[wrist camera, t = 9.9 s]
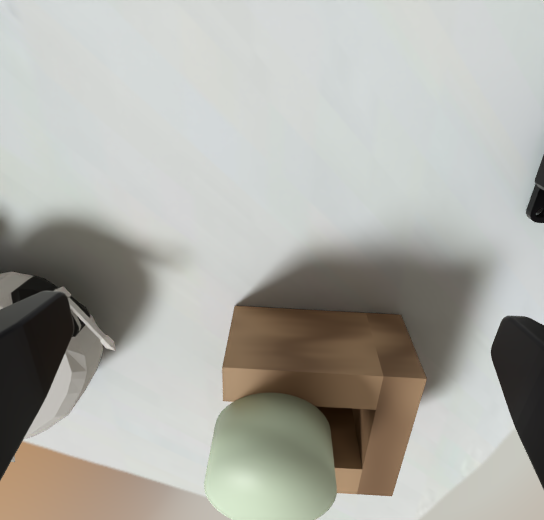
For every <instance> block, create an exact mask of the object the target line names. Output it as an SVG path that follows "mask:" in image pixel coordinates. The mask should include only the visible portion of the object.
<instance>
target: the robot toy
mask: <svg viewBox="0 0 544 520" xmlns="http://www.w3.org/2000/svg"><path fill="white" fill-rule="evenodd" d="M42 291H61V292H64V293H65V294H66V295H67V297H68V301H69V305H70V309H71V313H72V318H73V322H74V332H73V336H72V338H71V341H70V343H69V345H68V348H67V350H66V352H65V355H64V357H63V360H62V362H61V364H60V367H59V369H58V371H57V374H56V376H55V378H54V381H53V383H52V386H51V388H50V390H49V392H48V394H47V397H46V399H45V401H44V403H43V404H42V406H41V408H40V410H39V412H38V414H37V416H36V417H35V419H34V421H33V423H32V425H31V426H30V428H29V430H28V432H27V433H26V435H25V437H24V439H26V438H30V437H33V436H35V435H37V434H39V433H42V432H44V431H46V430H47V429H49V428H50V427H52V426H53V425H54V424H56V423H57V422H59V421H60V420H62V419H63V418H64V417H66V416H67V415H68V414H69V413H70V411H71V410H72V409H73V407H74V406H75V404H76V403H77V401H78V400H79V398H80V397H81V396H82V394H83V393H84V391H85V390H86V388H87V386H88V384H89V383H90V381H91V379H92V377H93V376H94V374H95V372H96V370H97V368H98V365H99V363H100V360H101V357H102V352H103V345H104V346H105V347H106V348H107V349H111V350H115V351H116V348H115V342H114V341H113V340H112V339H111V338H110V337H109V336H108V335H107V336H106V335H105V334H104V333H103V332H102V331H101V330H100V329H99V328H98V326H97V324H96V322H95V320H94V318H93V316H92V315H91V314H90V313H89V312H88V310H87V308H86V307H84V306H83V305H82V304H80V303H79V302H78V301H76V300H75V299H74V298H72V297H71V294H70V293H69V292H68V291H67V290H66V289H65V288H64V287H60V288H58V287H56V286H55V285H54V284H52V283H50V282H49V281H47V280H46V279H44V278H41V277H37V276H32V275H26V274H21V273H16V272H7V273H1V274H0V309H2V308H5V307H7V306H9V305H11V304H14V303H16V302H18V301H21V300H23V299H25V298H28V297H30V296H32V295H35V294H37V293H39V292H42ZM11 461H12V462H15V457H13V459H12V460H11Z"/></svg>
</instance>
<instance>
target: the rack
mask: <svg viewBox="0 0 544 520" xmlns="http://www.w3.org/2000/svg"><path fill="white" fill-rule="evenodd" d="M222 374H223V401H231V402H234V401H236V400H238V399H240V398H243V397H246V396H249V395H253V394H258V393H282V394H288V395H292V396H295V397H298V398H301V399H303V400H306V401H307V402H309V403H311V404H312V405H314V406H315V407H317V408H318V409H319V410H320V411H321V412H322V413H323V414H324V416H325V417H326V419H327V421H328V422H329V425H330V430H331V438H332V448H333V458H334V467H335V477H336V486H337V493H347V494H364V495H381V496H392V495H393V491H394V488H395V485H396V481H397V478H398V475H399V471H400V468H401V464H402V461H403V458H404V454H405V451H406V448H407V444H408V441H409V437H410V434H411V431H412V427H413V424H414V421H415V417H416V414H417V410H418V407H419V404H420V400H421V397H422V394H423V390H424V387H425V383H426V380H427V378H426V375H425V373H424V370H423V368H422V365H421V363H420V361H419V358H418V356H417V353H416V351H415V348H414V346H413V343H412V341H411V338H410V336H409V333H408V331H407V328H406V326H405V323H404V321H403V318H402V316H401V315H396V314H378V313H359V312H341V311H322V310H304V309H285V308H267V307H248V306H235V307H234V312H233V317H232V322H231V327H230V332H229V337H228V342H227V347H226V352H225V357H224V362H223V367H222Z"/></svg>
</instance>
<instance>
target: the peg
mask: <svg viewBox="0 0 544 520" xmlns="http://www.w3.org/2000/svg"><path fill="white" fill-rule="evenodd" d="M204 489H205V493H206V496H207V498H208V500H209V501H210V503H211V504H212V505H213V506H214V507H215V508H216V509H217V510H218V511H219V512H221V513H222V514H223V515H225V516H226V517H228V518H230V519H232V520H315V519H317V518H319V517H320V516H322V515H323V514H324V513H325V512H327V511H328V510H329V508H330V507H331V506H332V504H333V503H334V501H335V498H336V494H337V486H336V477H335V467H334V458H333V448H332V438H331V430H330V425H329V422H328V421H327V419H326V417H325V416H324V414H323V413H322V412H321V411H320V410H319V409H318V408H317V407H315V406H314V405H312V404H311V403H309V402H307V401H306V400H303V399H301V398H298V397H295V396H292V395H288V394H282V393H258V394H253V395H249V396H246V397H243V398H240V399H238V400H236V401H234V402H232V403H231V404H230V405H228V406H227V407H226V408H225V409H224V410H223V411H222V412H221V413H220V415H219V416H218V418H217V421H216V424H215V429H214V434H213V439H212V444H211V450H210V455H209V460H208V465H207V471H206V476H205V481H204Z"/></svg>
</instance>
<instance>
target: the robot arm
mask: <svg viewBox="0 0 544 520" xmlns="http://www.w3.org/2000/svg"><path fill="white" fill-rule="evenodd" d="M535 183H536V184H535V187H534V190H533V193H532V196H531V198H530V201H529V204H528V207H527V210H526V214H527V217H529V218H530V219H531V220H532V221H534V222H537V223H544V156H543V158H542V161H541V164H540V167H539V170H538V172H537V175H536V178H535ZM540 208H542V211H541V213H539V214H537V215H536V212H537V210H539V209H540ZM73 332H74V322H73V318H72V313H71V309H70V305H69V301H68V297H67V295H66V294H65V293H64V292H61V291H42V292H39V293H37V294H35V295H32V296H30V297H28V298H25V299H23V300H21V301H18V302H16V303H14V304H11V305H9V306H7V307H5V308H2V309H0V480H1V478H2V476H3V475H4V473H5V471H6V469H7V467H8V466H9V464H10V462H11V460H12V459H13V457H14V455H15V453H16V451H17V449H18V448H19V446H20V444H21V442H22V441H23V439H24V437H25V435H26V433H27V432H28V430H29V428H30V426H31V425H32V423H33V421H34V419H35V417H36V416H37V414H38V412H39V410H40V408H41V406H42V404H43V403H44V401H45V399H46V397H47V394H48V392H49V390H50V388H51V386H52V383H53V381H54V378H55V376H56V374H57V371H58V369H59V367H60V364H61V362H62V360H63V357H64V355H65V352H66V350H67V348H68V345H69V343H70V341H71V338H72V336H73ZM491 357H492V361H493V364H494V367H495V370H496V373H497V376H498V379H499V382H500V385H501V388H502V391H503V394H504V397H505V400H506V403H507V406H508V409H509V411H510V414H511V417H512V420H513V422H514V425H515V428H516V430H517V432H518V435H519V437H520V439H521V441H522V443H523V446H524V448H525V450H526V452H527V454H528V456H529V459H530V461H531V463H532V465H533V467H534V469H535V472H536V474H537V476H538V478H539V480H540V482H541V485H542V487H543V489H544V325H542V324H540V323H538V322H536V321H534V320H532V319H531V318H528V317H525V316H506V317H504V318H503V319H502V321H501V323H500V326H499V329H498V331H497V334H496V336H495V339H494V342H493V344H492V348H491Z"/></svg>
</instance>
